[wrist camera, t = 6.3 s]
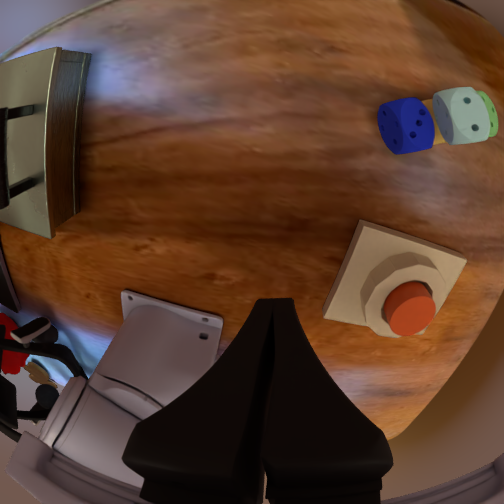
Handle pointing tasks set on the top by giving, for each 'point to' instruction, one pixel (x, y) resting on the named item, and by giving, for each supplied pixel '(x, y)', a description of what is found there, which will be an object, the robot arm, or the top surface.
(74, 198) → the wooden box
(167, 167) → the top surface
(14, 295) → the smartphone
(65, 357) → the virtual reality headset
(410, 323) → the button
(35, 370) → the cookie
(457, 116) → the dice
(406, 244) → the box
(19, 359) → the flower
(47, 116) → the plastering trowel
